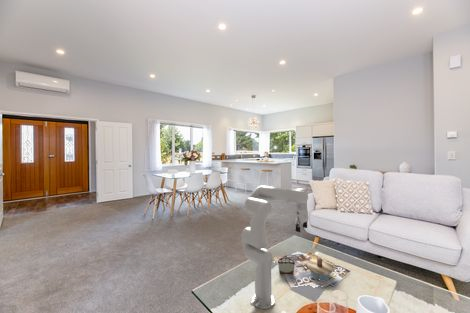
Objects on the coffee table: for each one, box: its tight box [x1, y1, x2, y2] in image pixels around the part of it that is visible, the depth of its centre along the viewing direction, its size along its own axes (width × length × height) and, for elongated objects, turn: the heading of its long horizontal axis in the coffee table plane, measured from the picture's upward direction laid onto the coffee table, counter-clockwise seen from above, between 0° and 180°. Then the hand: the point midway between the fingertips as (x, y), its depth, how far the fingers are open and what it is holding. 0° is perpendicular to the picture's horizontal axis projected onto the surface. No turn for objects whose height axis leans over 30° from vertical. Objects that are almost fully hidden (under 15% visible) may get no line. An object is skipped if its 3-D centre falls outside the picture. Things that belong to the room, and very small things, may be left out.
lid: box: [306, 257, 334, 275], centre depth 144 cm, size 16×16×6 cm
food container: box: [277, 256, 296, 275], centre depth 149 cm, size 12×6×10 cm, turn 84°
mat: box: [289, 285, 327, 303], centre depth 131 cm, size 16×16×1 cm
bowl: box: [309, 270, 331, 281], centre depth 144 cm, size 12×12×6 cm
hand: (301, 229), depth 149 cm, fingers open, 9 cm apart
